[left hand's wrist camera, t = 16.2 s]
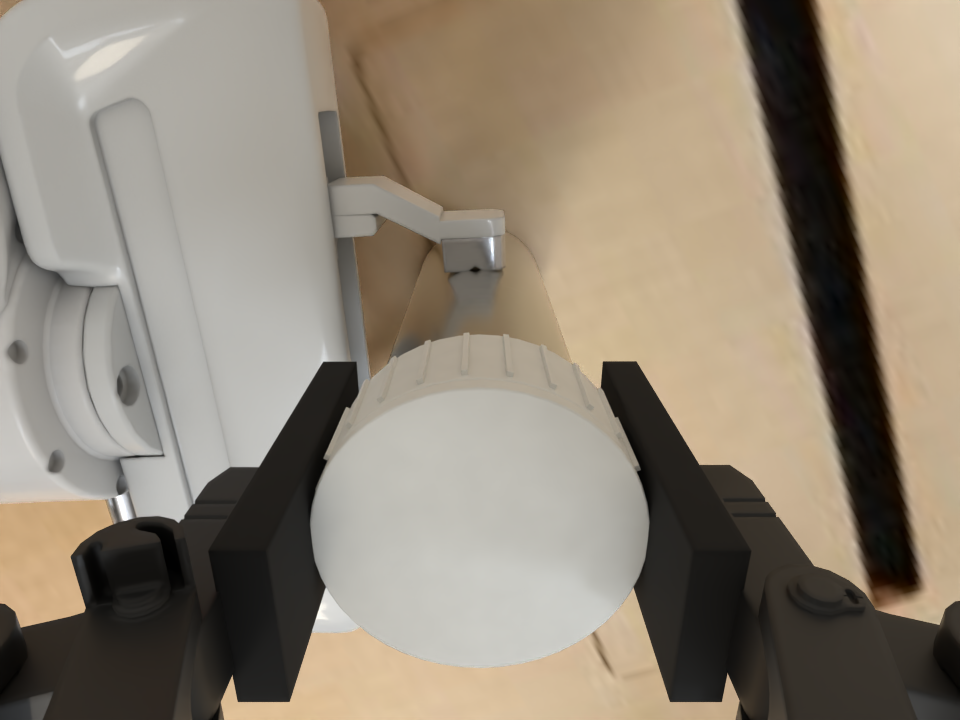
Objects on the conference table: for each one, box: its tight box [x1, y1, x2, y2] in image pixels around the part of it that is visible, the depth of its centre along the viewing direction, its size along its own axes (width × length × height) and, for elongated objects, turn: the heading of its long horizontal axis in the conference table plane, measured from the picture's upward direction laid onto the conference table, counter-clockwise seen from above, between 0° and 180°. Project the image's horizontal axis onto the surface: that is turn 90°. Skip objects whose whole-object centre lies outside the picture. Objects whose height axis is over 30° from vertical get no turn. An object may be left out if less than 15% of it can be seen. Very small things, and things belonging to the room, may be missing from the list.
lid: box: [310, 333, 650, 668], centre depth 12 cm, size 6×6×2 cm
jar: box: [387, 231, 573, 365], centre depth 18 cm, size 5×5×15 cm
